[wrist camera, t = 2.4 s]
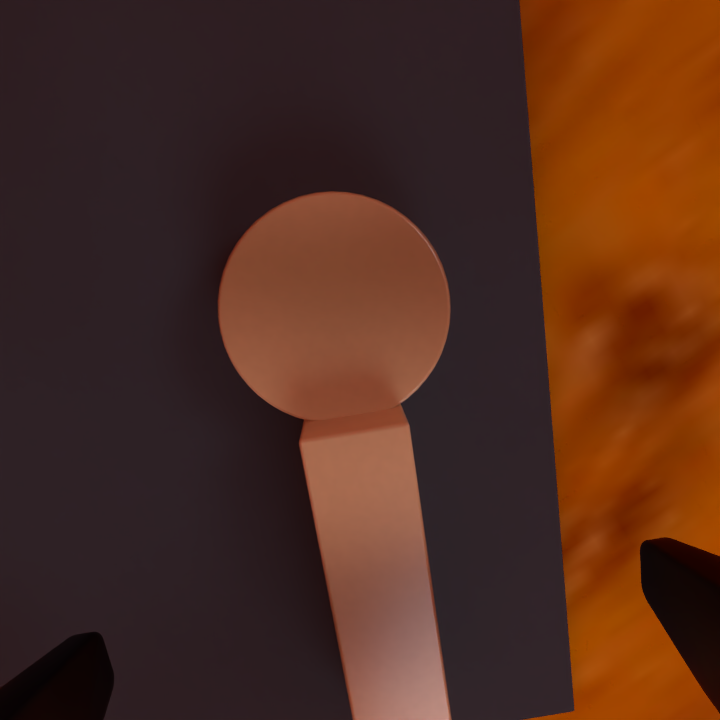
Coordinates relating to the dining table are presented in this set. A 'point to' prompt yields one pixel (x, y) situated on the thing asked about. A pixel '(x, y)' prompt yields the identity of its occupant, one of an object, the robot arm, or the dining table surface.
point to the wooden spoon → (352, 418)
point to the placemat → (214, 368)
